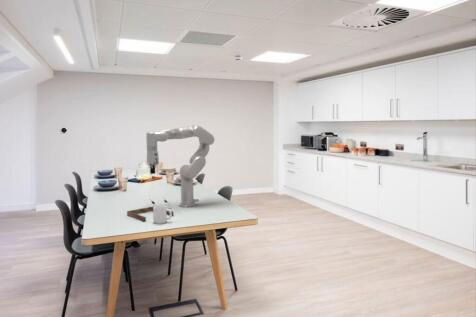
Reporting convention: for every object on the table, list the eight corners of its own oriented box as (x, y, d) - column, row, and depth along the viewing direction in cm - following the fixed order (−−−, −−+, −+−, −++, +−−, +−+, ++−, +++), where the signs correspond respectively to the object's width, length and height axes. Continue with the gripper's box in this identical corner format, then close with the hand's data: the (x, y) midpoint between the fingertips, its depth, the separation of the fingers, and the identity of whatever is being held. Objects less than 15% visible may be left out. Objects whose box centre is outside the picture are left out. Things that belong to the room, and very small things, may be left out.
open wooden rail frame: (155, 210, 270) (155, 206, 270) (173, 215, 252) (173, 211, 252) (127, 215, 255) (127, 211, 255) (144, 222, 237) (144, 217, 237)
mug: (173, 220, 240) (172, 205, 239) (170, 224, 232) (170, 208, 231) (155, 220, 241) (154, 205, 240) (152, 224, 233) (151, 208, 231)
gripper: (161, 148, 264) (162, 174, 266) (151, 148, 275) (152, 172, 277) (152, 149, 259) (153, 175, 261) (142, 148, 270) (143, 173, 272)
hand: (152, 173), depth 269 cm, fingers closed
